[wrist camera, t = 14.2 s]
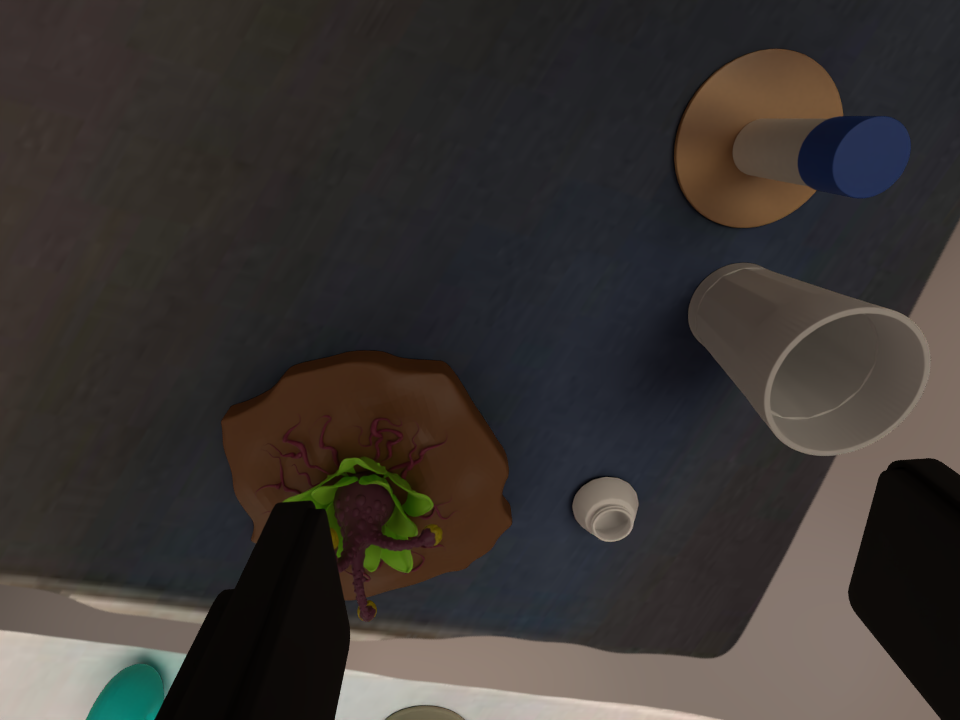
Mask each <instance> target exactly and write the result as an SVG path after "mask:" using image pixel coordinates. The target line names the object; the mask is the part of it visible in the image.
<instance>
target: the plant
mask: <svg viewBox="0 0 960 720" xmlns="http://www.w3.org/2000/svg"><path fill="white" fill-rule="evenodd" d="M221 425H222V432H223V446H224V450H225V454H226V456H227V459H228V462H229V465H230V468H231V472H232V477H233V487H234V491H235V494H236V496H237V498H238V500H239V502H240V504H241V505H242V506H243V508H244V509H245V511H246V512H247V513H248V515H249V516H250V517H251V518H252V520H253V523H254V530H253V534H252V537H251V541H252V542H254V543H257V541H258V539H259V537H260V534H261V532H262V530H263V528H264V526H265V524H266V522H267V520H268V518H269V515H270V513H271V511H272V509H273V507H274V506H275V504H277V503H281V502H295V501H313V503H314V504H315V507H316V509H325V510H326V513H327V516H328V521H329V526H330V531H331V536H332V541H333V546H334V551H335V556H336V561H337V566H338V571H339V576H340V581H341V586H342V591H343V596H344V600H357V601H358V602H357V603H358V604H359V607H358V610H357V613H358V617H359V618H360V619H361V620H362V621H365V622H370V621H371V620H373V618H374V617H375V615H376V613H377V608H376V605H375V604H374V602H372V601H370V600H368V601H367V599H365V598H366V597H370V596H373V595H376V594H380V593H383V592H386V591H389V590H394V589H397V588H402V587H406V586H410V585H413V584H416V583H419V582H422V581H425V580H427V579H430V578H432V577H435V576H437V575H440V574H443V573H446V572H451V571H459V570H462V569H465V568H467V567H468V566H469V565H470V564H471V563H472V562H473V561H474V560H476V559H478V558H479V557H481V556H483V555H484V554H486V553H487V552H488V551H490V550H491V549H492V547H493V546H494V544H495V543H496V541H497V539H498V538H499V537H500V535H501V534H502V533H503V532H504V531H505V530H507V529H508V528H509V527H510V526H511V525H512V516H511V507H510V504H509V503H508V501H507V500H506V499H505V498H504V496H503V495H502V491H503V487H504V484H505V482H506V480H507V478H508V474H509V467H508V460H507V456H506V453H505V451H504V449H503V447H502V445H501V444H500V443H499V441H498V440H497V439H496V437H495V435H494V434H493V432H492V430H491V429H490V427H489V425H488V424H487V422H486V421H485V419H484V418H483V416H482V415H481V413H480V412H479V411H478V409H477V408H476V406H475V405H474V403H473V401H472V400H471V398H470V396H469V395H468V393H467V391H466V389H465V388H464V386H463V384H462V383H461V381H460V380H459V378H458V377H457V375H456V374H455V373H454V371H453V370H452V369H451V367H450V366H449V365H448V364H447V363H445V362H443V361H435V360H419V359H406V358H401V357H397V356H394V355H391V354H389V353H386V352H382V351H351V352H346V353H342V354H338V355H335V356H331V357H327V358H322V359H317V360H312V361H307V362H303V363H300V364H297V365H294V366H292V367H291V368H289V369H288V370H287V371H286V372H285V374H284V375H283V376H282V377H281V379H280V380H279V381H278V382H277V383H276V385H275V386H274V387H273V388H271V389H270V390H268V391H266V392H265V393H263V394H261V395H259V396H257V397H255V398H252V399H250V400H248V401H245V402H242V403H239V404H236V405H233V406H231V407H230V409H229V410H228V412H227V413H226V414H225V416H224V417H223V419H222V421H221Z"/></svg>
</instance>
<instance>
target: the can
mask: <svg viewBox="0 0 960 720" xmlns="http://www.w3.org/2000/svg"><path fill="white" fill-rule="evenodd" d="M386 720H464V719H463V718H462V717H461V716H459V715H458V714H456V713H455V712H453V711H450V710H448V709H445V708H440V707H435V706H416V707H410V708H406V709H403V710H401V711H398V712H396V713H394V714H393V715H391V716H390V717H388V718H387V719H386Z"/></svg>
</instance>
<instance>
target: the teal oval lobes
mask: <svg viewBox="0 0 960 720" xmlns="http://www.w3.org/2000/svg"><path fill="white" fill-rule="evenodd" d="M163 702H164V688H163V682H162V680H161V677H160V675H159V673H158V672H157V671H156V670H155V669H154V668H153V667H151V666H149V665H146V664H135V665H132V666H129V667H127V668H125V669H123V670H122V671H120V672H119V673H118V674H117V675H115V676H114V677H113V678H112V679H111V680H110V681H109V683H108V684H107V685H106V686H105V688H104V689H103V690H102V692H101V693H100V695H99V696H98V698H97V699H96V701H95V703H94V704H93V706H92V708H91V710H90V712H89V714H88V716H87V718H86V720H154V719H155V717H156V715H157V713H158V711H159V710H160V708H161V706H162V704H163Z"/></svg>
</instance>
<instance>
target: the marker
mask: <svg viewBox="0 0 960 720" xmlns="http://www.w3.org/2000/svg"><path fill="white" fill-rule="evenodd" d="M910 150H911V143H910V137H909V134H908V131H907V130H906V128H905V127H904V126H903V124H902V123H900V122H899V121H898V120H896V119H894V118H891V117H887V116H839V117H833V118H830V119H758V120H755V121H752V122H751V123H749V124H748V125H746V126H745V127H744V128H743V129H742V130H741V131H740V133H739V134H738V136H737V137H736V139H735V142H734V145H733V160H734V163H735V165H736V166H737V168H738V169H739V170H740V171H741V172H743V173H745V174H747V175H751V176H757V177H762V178H767V179H772V180H777V181H782V182H788V183H793V184H798V185H803V186H808V187H810V188H812V189H814V190H817V191H822V192H827V193H832V194H837V195H842V196H847V197H852V198H868V197H872V196H875V195H877V194H880V193H881V192H883V191H885V190H886V189H888V188H889V187H890V186H891V185H893V184H894V183H895V182H896V180H897V179H898V178H899V177H900V175H901V174H902V173H903V171H904V169H905V167H906V165H907V163H908V160H909V156H910Z"/></svg>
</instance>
